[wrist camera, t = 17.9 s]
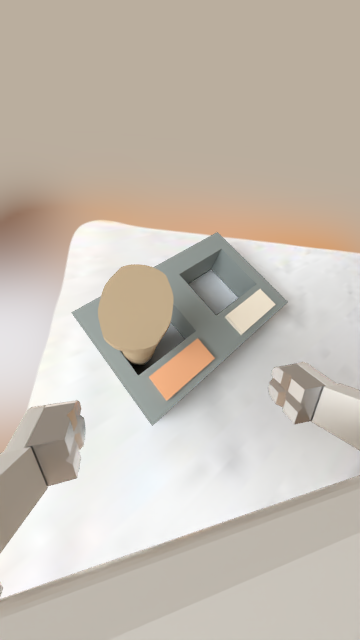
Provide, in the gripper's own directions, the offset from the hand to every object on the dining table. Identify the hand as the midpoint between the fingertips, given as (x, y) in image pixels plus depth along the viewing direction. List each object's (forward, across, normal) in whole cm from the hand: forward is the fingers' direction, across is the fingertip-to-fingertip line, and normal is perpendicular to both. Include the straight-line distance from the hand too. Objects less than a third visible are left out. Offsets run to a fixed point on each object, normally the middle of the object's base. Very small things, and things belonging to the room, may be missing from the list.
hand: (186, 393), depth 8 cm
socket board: (+21, -5, +5) cm, 22 cm away
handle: (+18, +2, +9) cm, 20 cm away
